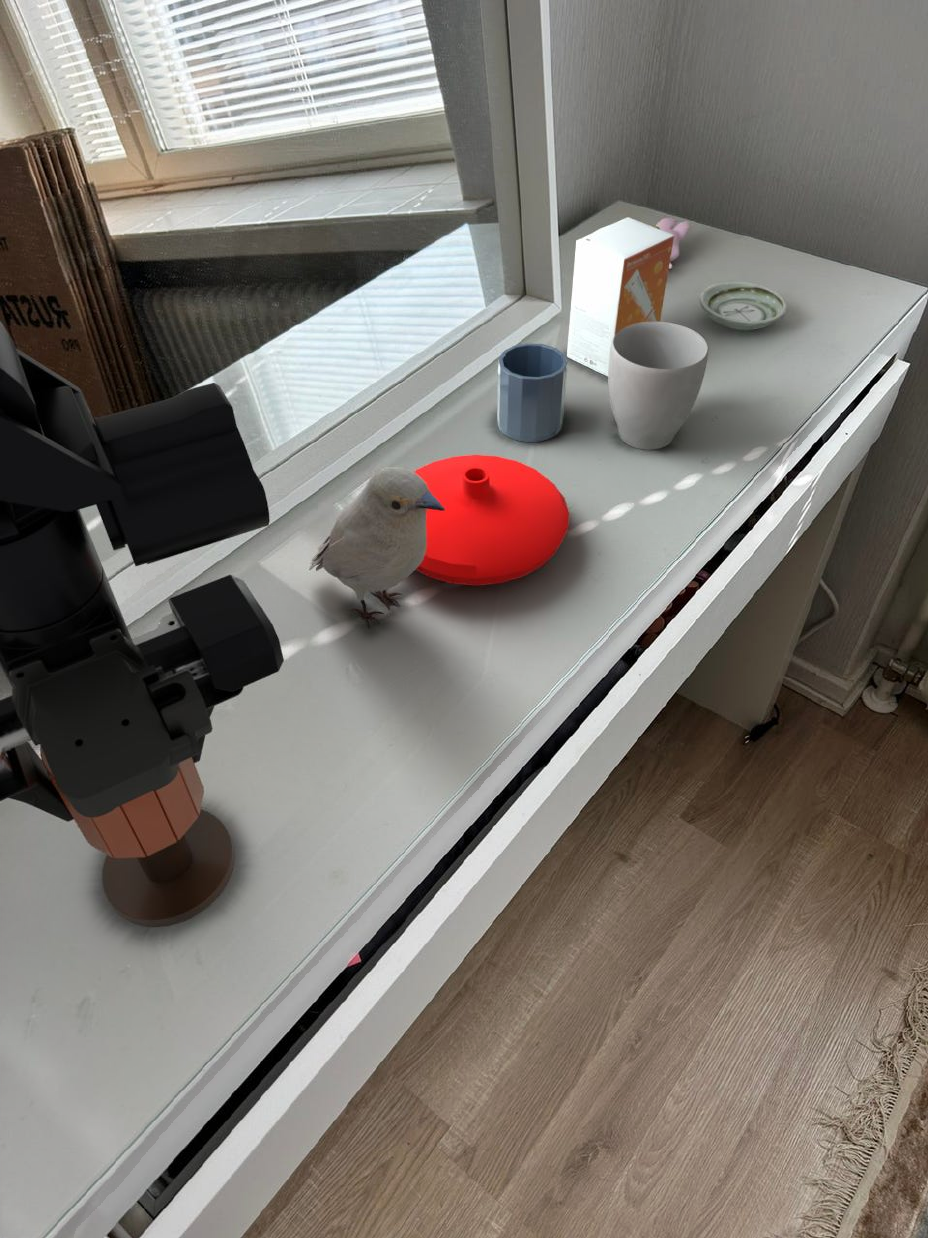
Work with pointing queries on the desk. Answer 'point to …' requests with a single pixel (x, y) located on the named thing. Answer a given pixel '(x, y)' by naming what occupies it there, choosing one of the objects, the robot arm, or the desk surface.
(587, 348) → the small box
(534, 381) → the slate cup
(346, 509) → the bird
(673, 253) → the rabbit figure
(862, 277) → the desk surface
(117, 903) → the holder
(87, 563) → the robot arm
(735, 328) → the saucer
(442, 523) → the red disc with nozzle
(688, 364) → the mug
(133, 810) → the orange ribbed cylinder
